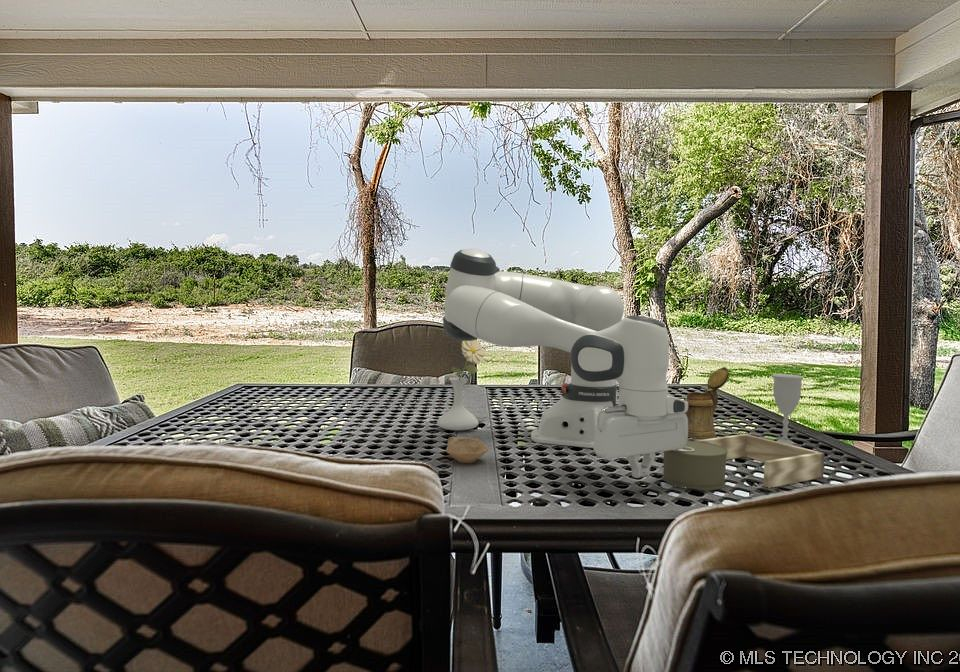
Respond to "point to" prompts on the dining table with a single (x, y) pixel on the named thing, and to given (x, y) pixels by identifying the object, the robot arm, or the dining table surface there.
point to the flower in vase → (457, 413)
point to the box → (774, 458)
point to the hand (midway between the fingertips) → (640, 476)
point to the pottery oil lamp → (466, 449)
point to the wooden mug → (705, 406)
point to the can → (696, 466)
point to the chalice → (786, 398)
